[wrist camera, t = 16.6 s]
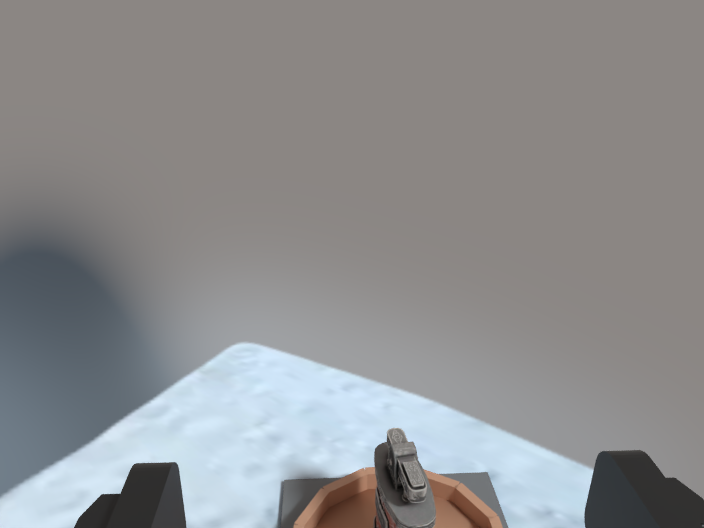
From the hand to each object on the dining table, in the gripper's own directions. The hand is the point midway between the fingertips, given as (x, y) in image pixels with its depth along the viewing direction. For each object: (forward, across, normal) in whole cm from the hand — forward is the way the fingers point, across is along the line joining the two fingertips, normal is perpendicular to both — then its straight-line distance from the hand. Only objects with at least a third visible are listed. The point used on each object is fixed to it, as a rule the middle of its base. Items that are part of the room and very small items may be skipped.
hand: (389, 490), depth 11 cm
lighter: (+22, -4, +28) cm, 36 cm away
